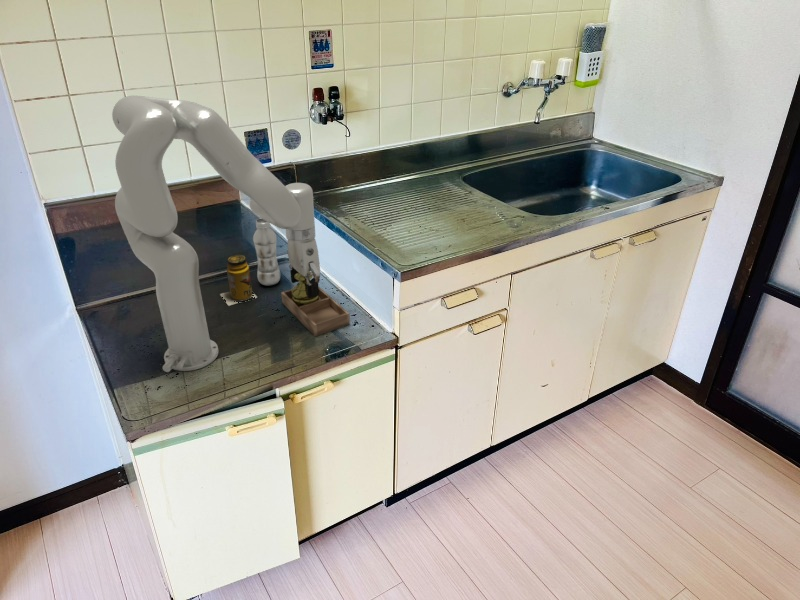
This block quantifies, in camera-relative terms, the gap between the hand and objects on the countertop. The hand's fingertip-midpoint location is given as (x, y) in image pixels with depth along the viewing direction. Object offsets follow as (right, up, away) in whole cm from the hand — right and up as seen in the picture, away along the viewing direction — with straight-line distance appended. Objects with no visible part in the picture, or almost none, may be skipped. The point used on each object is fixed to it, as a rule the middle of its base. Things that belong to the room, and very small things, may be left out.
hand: (304, 288), depth 164 cm
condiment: (-20, -2, +7) cm, 21 cm away
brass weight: (0, -4, +2) cm, 5 cm away
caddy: (+3, -7, 0) cm, 7 cm away
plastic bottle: (-13, +2, +14) cm, 19 cm away
